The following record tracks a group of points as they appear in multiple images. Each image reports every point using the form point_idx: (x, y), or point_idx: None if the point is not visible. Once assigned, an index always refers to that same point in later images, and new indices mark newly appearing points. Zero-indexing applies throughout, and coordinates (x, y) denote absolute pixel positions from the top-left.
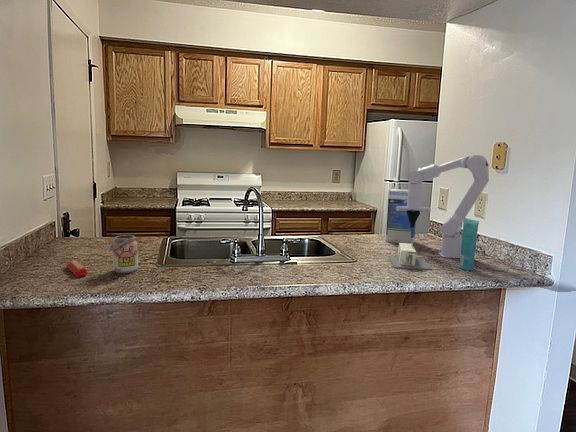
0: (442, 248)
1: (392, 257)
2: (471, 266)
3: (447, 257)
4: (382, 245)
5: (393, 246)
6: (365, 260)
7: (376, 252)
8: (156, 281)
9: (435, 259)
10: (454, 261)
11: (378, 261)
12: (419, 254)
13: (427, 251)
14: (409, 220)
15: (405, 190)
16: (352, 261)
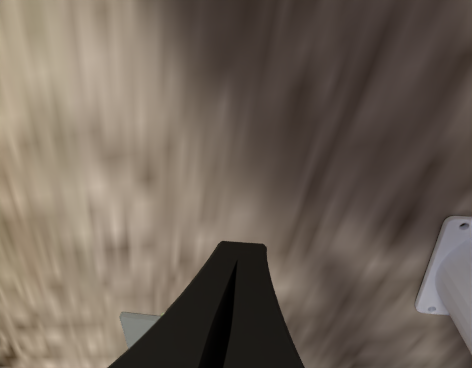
0: (454, 315)
1: (138, 333)
2: None
3: (443, 311)
4: (51, 30)
5: (141, 49)
6: (42, 348)
7: (54, 238)
8: None
9: (351, 330)
10: (442, 354)
11: (89, 357)
12: (295, 253)
13: (387, 173)
14: (173, 318)
15: None
16: (4, 358)
